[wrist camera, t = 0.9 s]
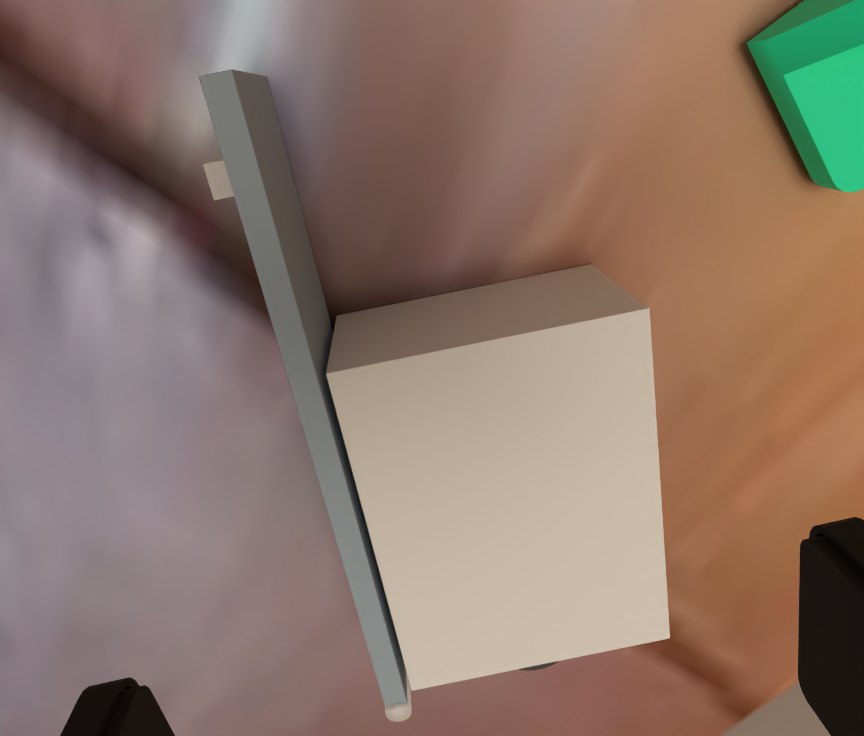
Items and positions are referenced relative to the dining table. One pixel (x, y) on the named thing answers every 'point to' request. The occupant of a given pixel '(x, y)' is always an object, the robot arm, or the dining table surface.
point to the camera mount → (819, 86)
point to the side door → (300, 338)
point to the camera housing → (508, 471)
